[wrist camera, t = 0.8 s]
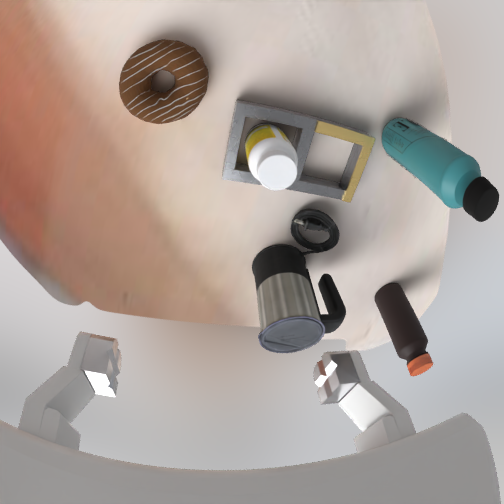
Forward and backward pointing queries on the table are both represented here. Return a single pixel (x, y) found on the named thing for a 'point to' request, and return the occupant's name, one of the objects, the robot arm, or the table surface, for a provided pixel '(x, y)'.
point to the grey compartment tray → (300, 149)
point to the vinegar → (404, 328)
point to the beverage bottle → (441, 167)
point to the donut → (174, 100)
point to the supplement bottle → (271, 157)
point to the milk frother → (296, 290)
